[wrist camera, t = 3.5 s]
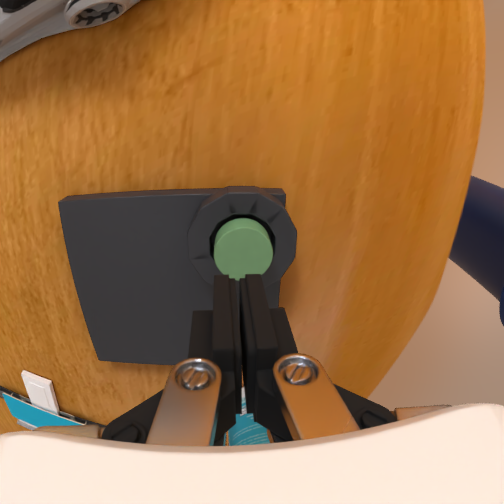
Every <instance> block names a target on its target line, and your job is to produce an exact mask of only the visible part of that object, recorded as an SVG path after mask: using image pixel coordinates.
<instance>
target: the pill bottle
mask: <svg viewBox="0 0 504 504" xmlns="http://www.w3.org/2000/svg"><path fill="white" fill-rule="evenodd" d="M228 436H229V446H239V445H256V444H269V443H270V441H269V439H268V436H267V429H266V428H265V427H263V426H262V425H260V424H258V423H257V422H254V418H253V413H251V414H247V410H246V401H245V391H244V387H243V388H242V414H236V424H235V425H234V426H233V427H232V428H230V429H229V430H228Z"/></svg>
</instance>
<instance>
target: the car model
mask: <svg viewBox="0 0 504 504" xmlns="http://www.w3.org/2000/svg"><path fill="white" fill-rule="evenodd" d="M139 1H141V0H0V61H2V60H3V59H5V58H6V57H7V56H9V55H11V54H13V53H14V52H16V51H18V50H20V49H21V48H23V47H25V46H27V45H29V44H31V43H33V42H35V41H37V40H39V39H41V38H43V37H47V36H50V35H54V34H57V33H61V32H65V31H68V30H72V29H78V28H88V27H93V26H97V25H101V24H104V23H107V22H109V21H112V20H114V19H116V18H118V17H119V16H120V15H122V14H123V13H124V12H125V11H127V10H128V9H129V8H131V7H132V6H133V5H135V4H136V3H138V2H139Z"/></svg>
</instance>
